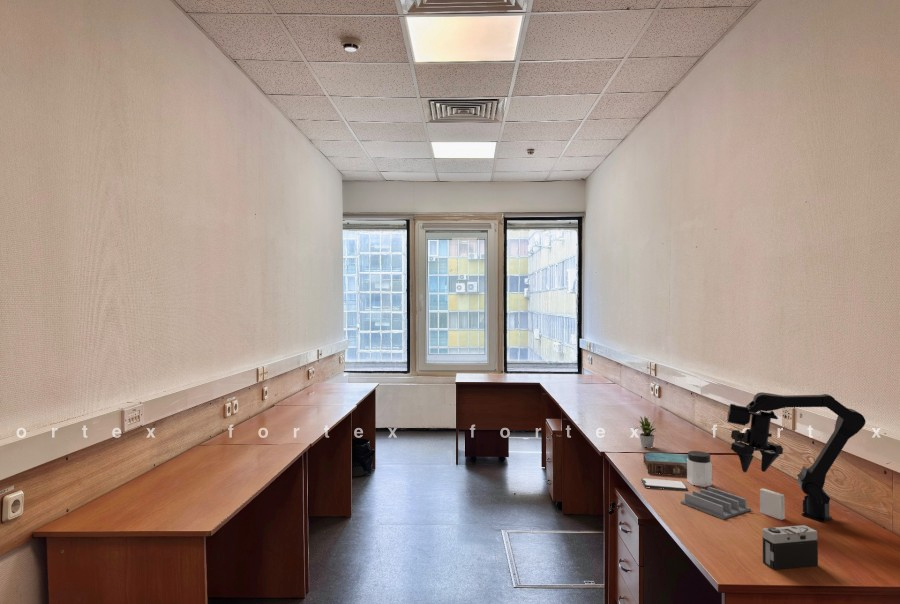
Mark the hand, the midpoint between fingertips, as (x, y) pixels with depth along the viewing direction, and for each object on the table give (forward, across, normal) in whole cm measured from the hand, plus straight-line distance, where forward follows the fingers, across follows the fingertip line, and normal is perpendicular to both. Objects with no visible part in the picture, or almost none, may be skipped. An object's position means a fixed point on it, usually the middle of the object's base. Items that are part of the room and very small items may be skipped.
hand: (753, 471), depth 178 cm
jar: (+15, -3, -25) cm, 29 cm away
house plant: (+18, -21, -76) cm, 80 cm away
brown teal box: (+17, -7, -42) cm, 46 cm away
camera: (+13, +25, +31) cm, 42 cm away
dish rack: (+14, +11, -4) cm, 18 cm away
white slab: (+12, -1, +8) cm, 15 cm away
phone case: (+17, +12, -27) cm, 34 cm away
